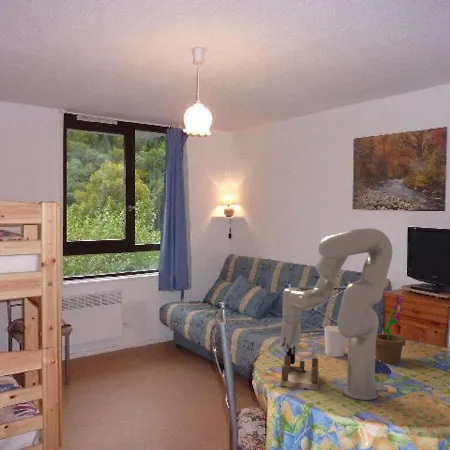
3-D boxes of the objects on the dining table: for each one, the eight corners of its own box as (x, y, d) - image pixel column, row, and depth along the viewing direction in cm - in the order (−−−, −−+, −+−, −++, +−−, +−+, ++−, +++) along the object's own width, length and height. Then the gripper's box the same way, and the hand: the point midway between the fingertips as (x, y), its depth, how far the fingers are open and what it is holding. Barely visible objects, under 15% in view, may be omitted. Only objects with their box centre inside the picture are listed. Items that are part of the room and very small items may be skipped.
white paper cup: (321, 355, 215) (321, 329, 215) (327, 349, 224) (327, 324, 223) (342, 359, 211) (343, 332, 210) (347, 353, 219) (348, 327, 219)
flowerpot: (399, 368, 200) (401, 297, 198) (366, 361, 208) (368, 293, 207) (409, 359, 211) (411, 293, 210) (377, 353, 220) (379, 289, 219)
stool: (318, 376, 188) (319, 357, 188) (318, 389, 175) (318, 369, 174) (283, 373, 191) (283, 355, 191) (280, 386, 177) (280, 366, 177)
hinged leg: (304, 370, 189) (304, 356, 189) (304, 372, 187) (304, 358, 186) (284, 368, 191) (284, 354, 191) (283, 370, 189) (283, 356, 189)
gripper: (291, 313, 200) (290, 356, 201) (275, 320, 188) (273, 366, 189) (307, 316, 196) (306, 360, 197) (292, 323, 184) (291, 370, 185)
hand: (290, 362), depth 193 cm, fingers closed
